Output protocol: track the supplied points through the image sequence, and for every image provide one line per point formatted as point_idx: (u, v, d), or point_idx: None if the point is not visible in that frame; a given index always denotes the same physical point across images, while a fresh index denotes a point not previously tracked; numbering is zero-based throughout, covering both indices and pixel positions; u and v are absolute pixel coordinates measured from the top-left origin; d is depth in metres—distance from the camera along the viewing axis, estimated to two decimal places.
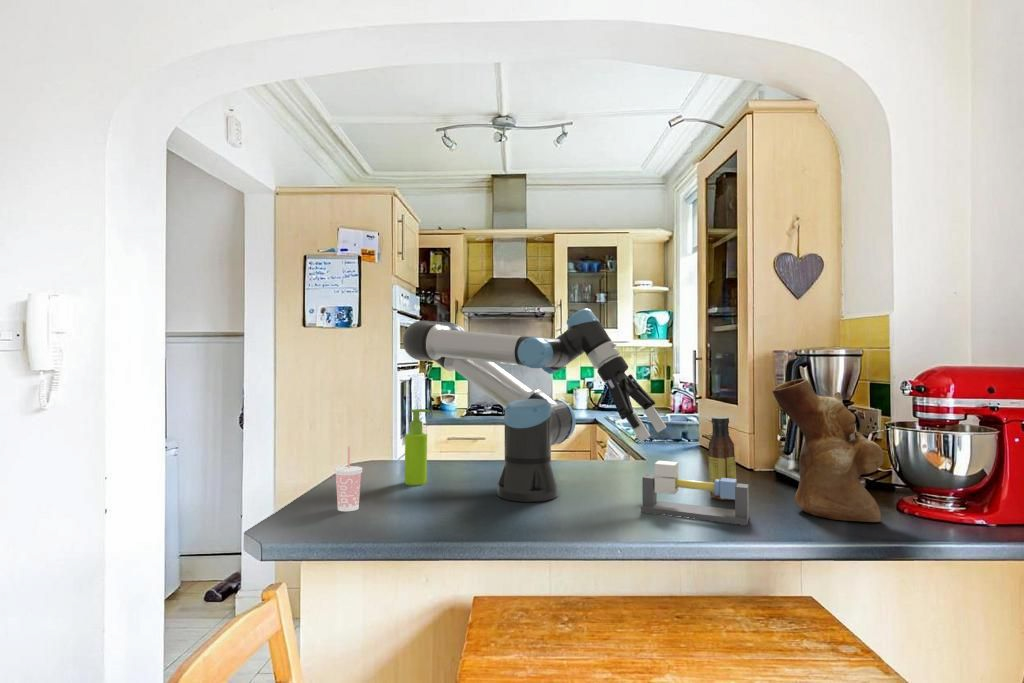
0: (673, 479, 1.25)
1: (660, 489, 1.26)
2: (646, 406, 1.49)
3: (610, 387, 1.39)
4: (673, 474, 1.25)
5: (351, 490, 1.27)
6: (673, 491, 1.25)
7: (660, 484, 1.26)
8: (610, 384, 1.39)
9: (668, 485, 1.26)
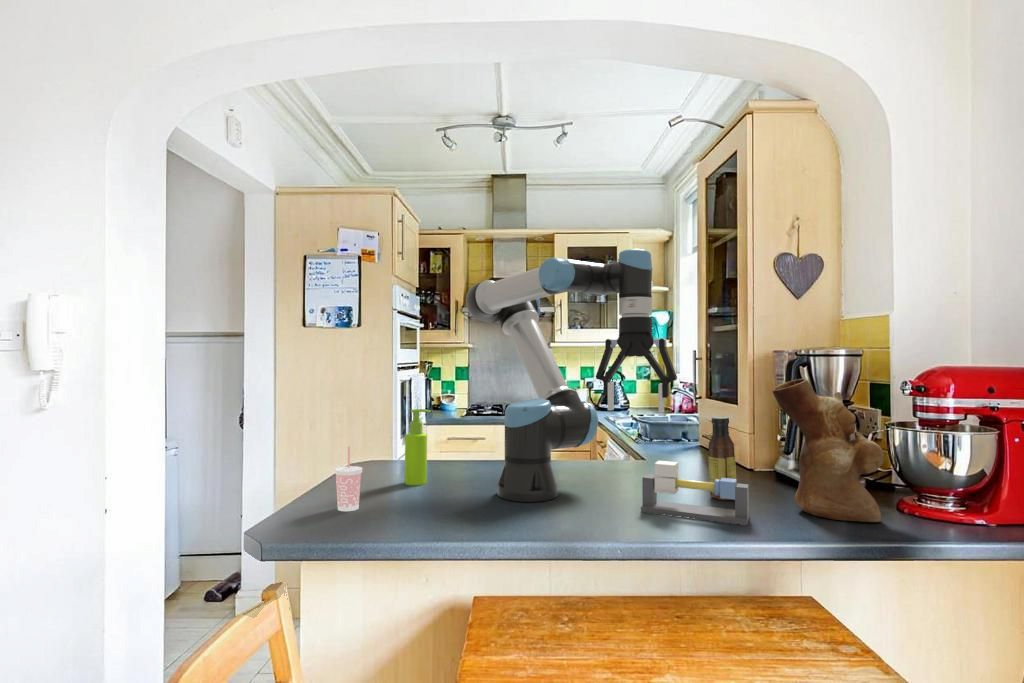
0: (673, 479, 1.25)
1: (660, 489, 1.26)
2: None
3: None
4: (673, 474, 1.25)
5: (351, 490, 1.27)
6: (673, 491, 1.25)
7: (660, 484, 1.26)
8: None
9: (668, 485, 1.26)
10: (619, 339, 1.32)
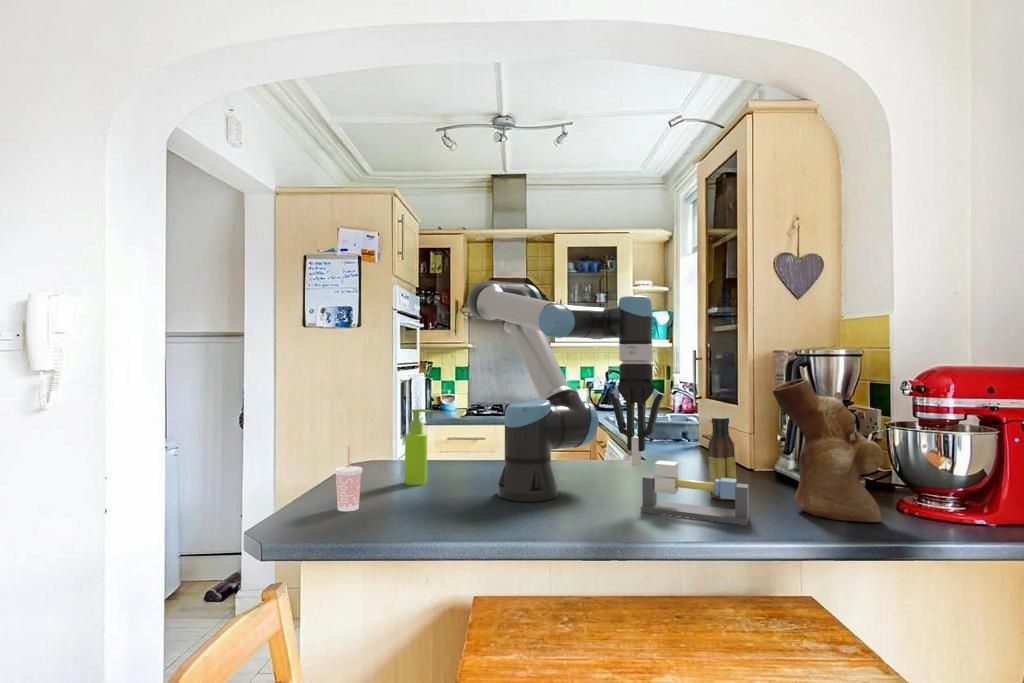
0: (673, 479, 1.25)
1: (660, 489, 1.26)
2: None
3: None
4: (673, 474, 1.25)
5: (351, 490, 1.27)
6: (673, 491, 1.25)
7: (660, 484, 1.26)
8: None
9: (668, 485, 1.26)
10: (619, 387, 1.32)
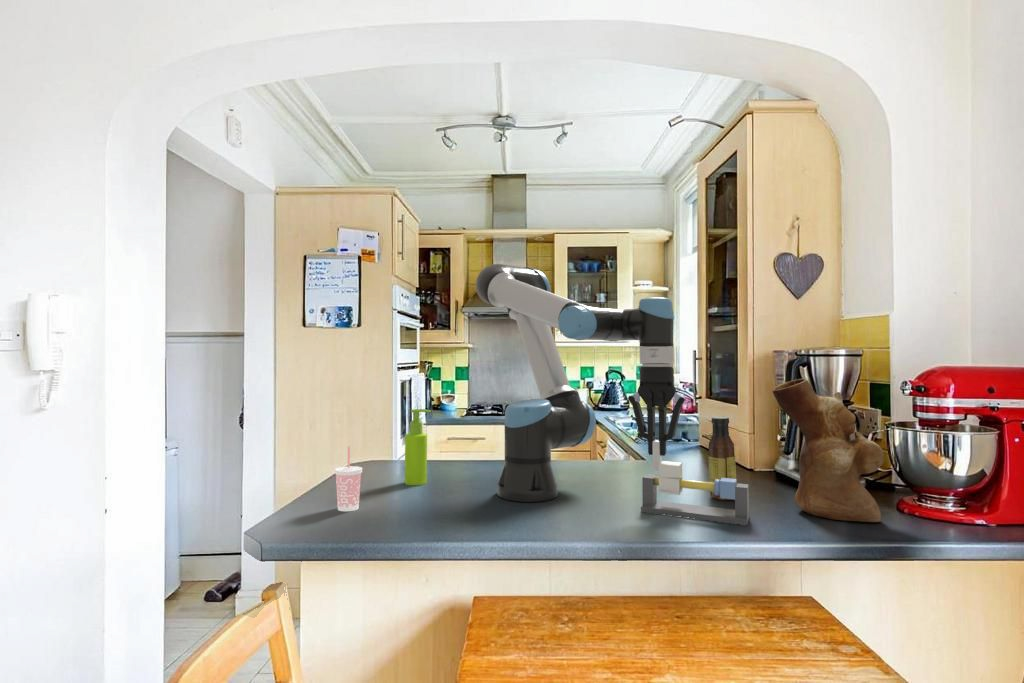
0: (677, 479, 1.25)
1: (664, 489, 1.26)
2: None
3: None
4: (677, 474, 1.25)
5: (351, 490, 1.27)
6: (677, 491, 1.25)
7: (664, 484, 1.26)
8: None
9: (672, 485, 1.25)
10: (639, 390, 1.30)
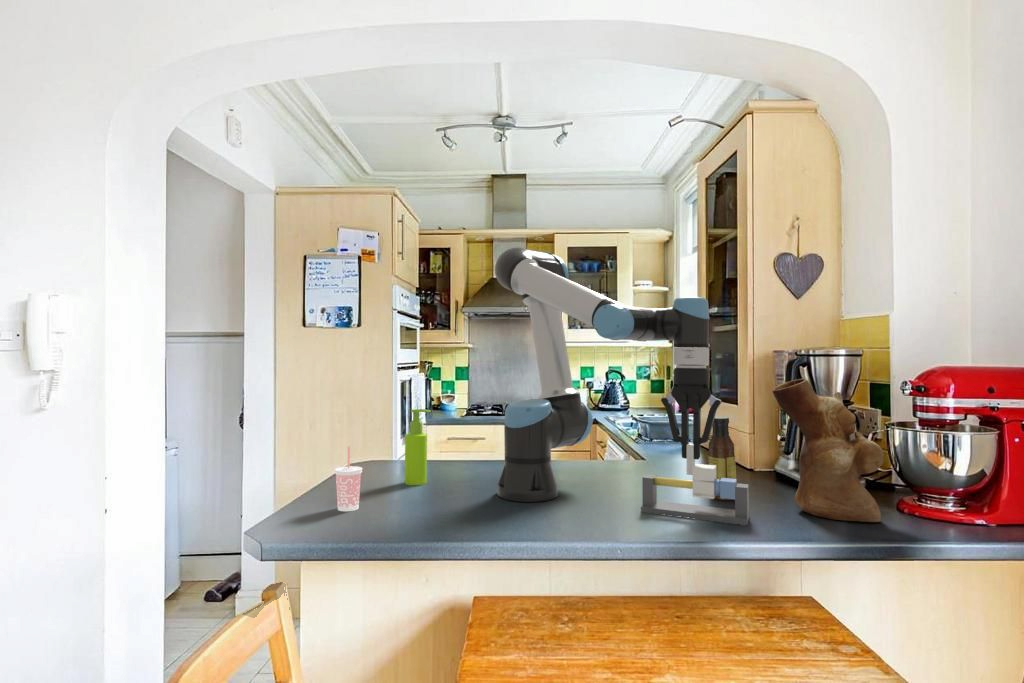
0: (712, 483, 1.21)
1: (698, 493, 1.23)
2: None
3: None
4: (712, 478, 1.21)
5: (351, 490, 1.27)
6: (712, 495, 1.21)
7: (698, 488, 1.23)
8: None
9: (706, 489, 1.22)
10: (673, 391, 1.26)
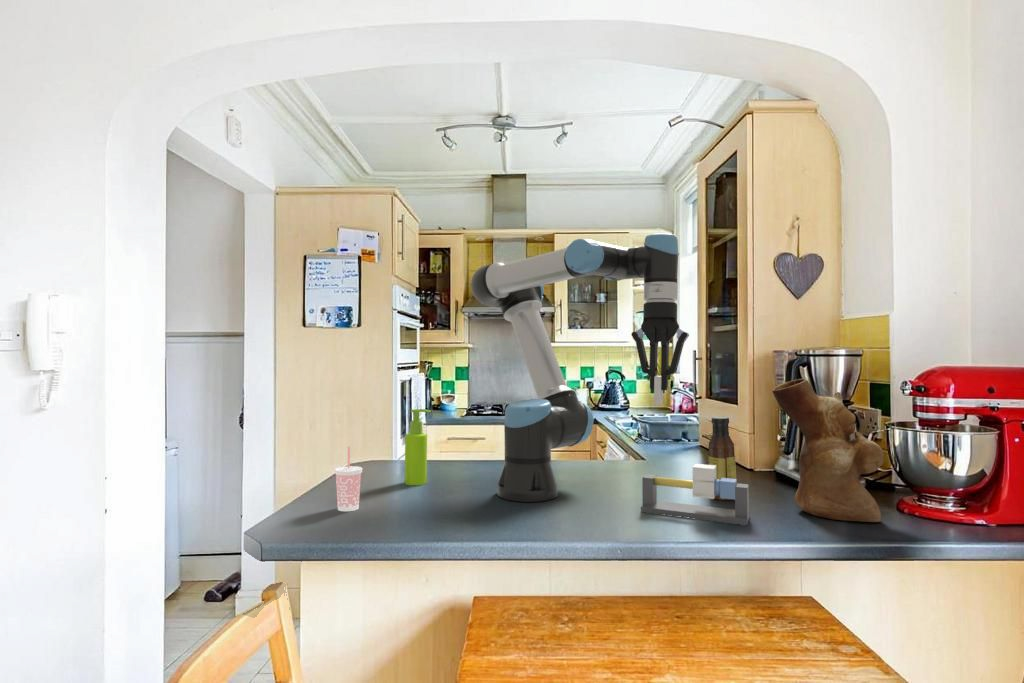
0: (712, 483, 1.21)
1: (698, 493, 1.23)
2: None
3: None
4: (712, 478, 1.21)
5: (351, 490, 1.27)
6: (712, 495, 1.21)
7: (698, 488, 1.23)
8: None
9: (706, 489, 1.22)
10: (642, 326, 1.31)
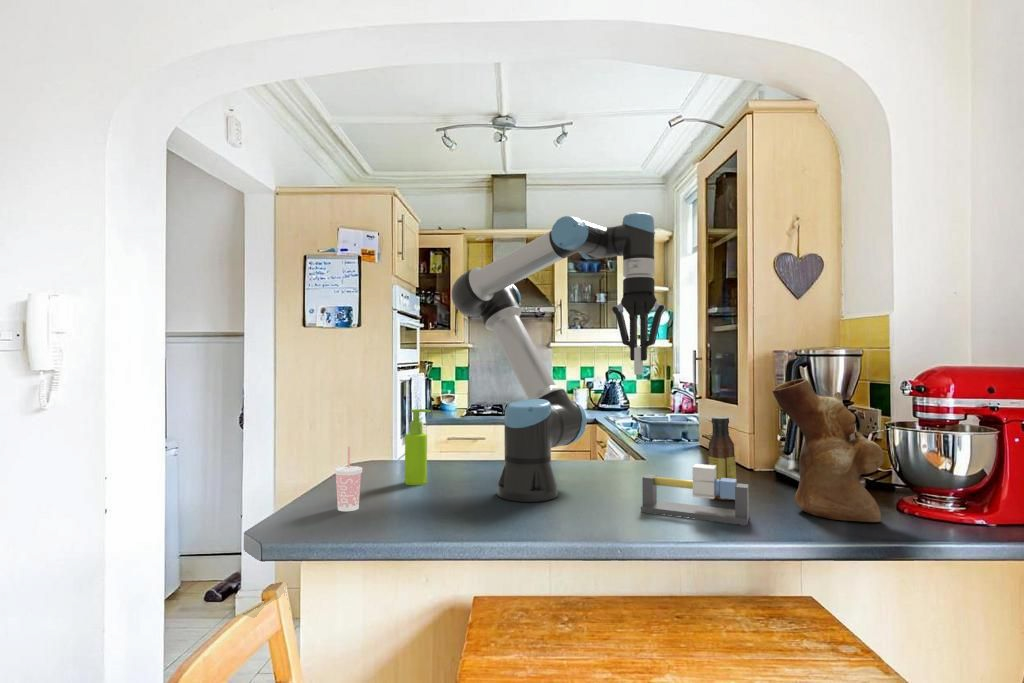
0: (712, 483, 1.21)
1: (698, 493, 1.23)
2: None
3: None
4: (712, 478, 1.21)
5: (351, 490, 1.27)
6: (712, 495, 1.21)
7: (698, 488, 1.23)
8: None
9: (706, 489, 1.22)
10: (622, 300, 1.39)
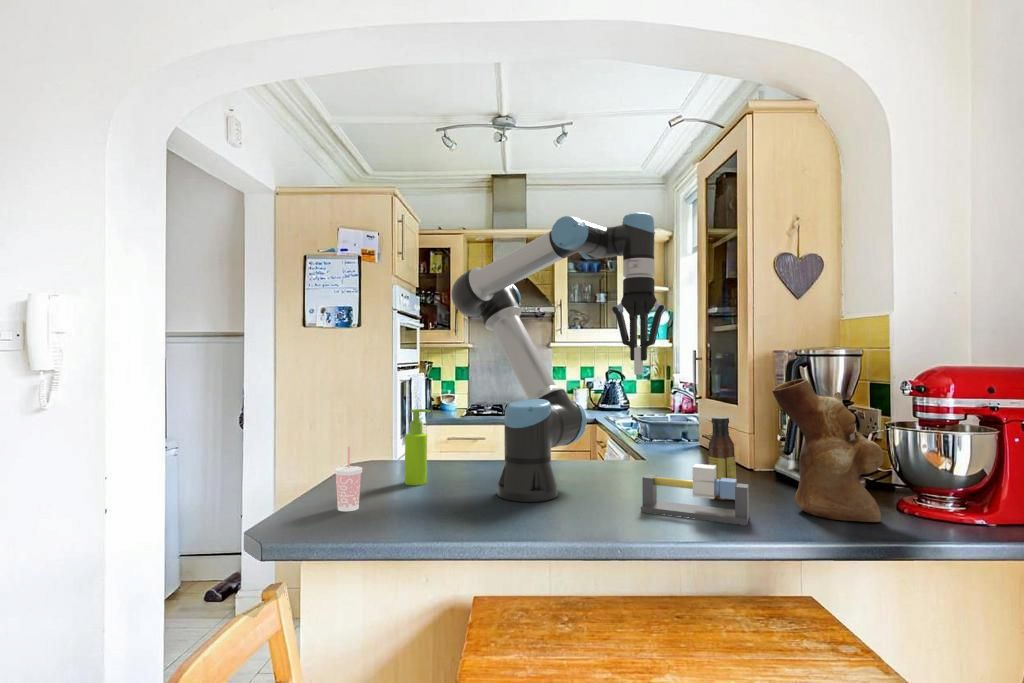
0: (712, 483, 1.21)
1: (698, 493, 1.23)
2: None
3: None
4: (712, 478, 1.21)
5: (351, 490, 1.27)
6: (712, 495, 1.21)
7: (698, 488, 1.23)
8: None
9: (706, 489, 1.22)
10: (622, 300, 1.39)
